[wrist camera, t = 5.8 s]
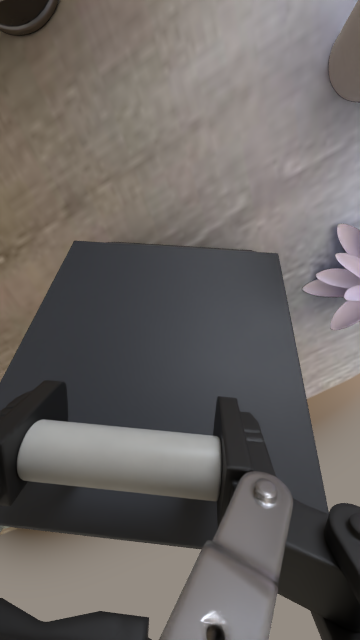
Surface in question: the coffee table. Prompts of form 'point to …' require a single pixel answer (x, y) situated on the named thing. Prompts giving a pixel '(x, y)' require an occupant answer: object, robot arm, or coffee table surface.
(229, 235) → the coffee table surface
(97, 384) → the lid
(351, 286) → the water lily
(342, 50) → the coffee cup
